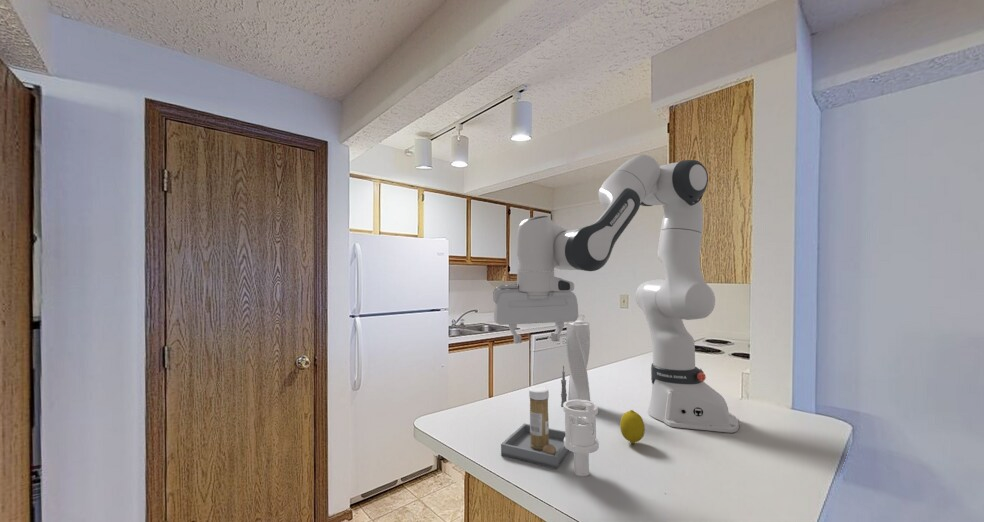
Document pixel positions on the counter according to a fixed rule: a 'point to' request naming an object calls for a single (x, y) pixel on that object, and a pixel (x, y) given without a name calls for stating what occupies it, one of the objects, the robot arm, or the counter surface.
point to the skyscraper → (577, 363)
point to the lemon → (632, 426)
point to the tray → (521, 448)
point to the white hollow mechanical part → (581, 433)
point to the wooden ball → (549, 449)
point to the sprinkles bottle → (539, 417)
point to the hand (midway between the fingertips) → (536, 341)
